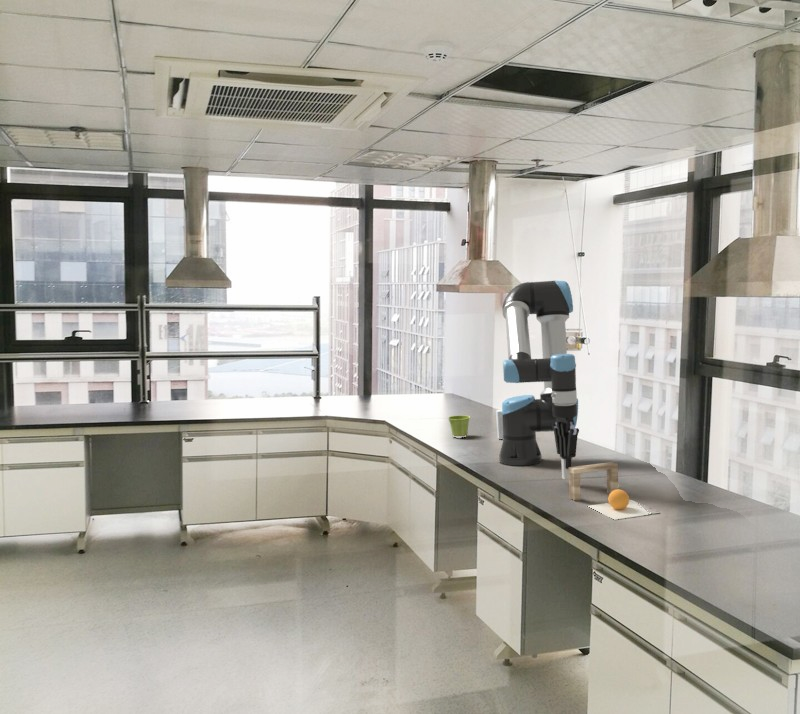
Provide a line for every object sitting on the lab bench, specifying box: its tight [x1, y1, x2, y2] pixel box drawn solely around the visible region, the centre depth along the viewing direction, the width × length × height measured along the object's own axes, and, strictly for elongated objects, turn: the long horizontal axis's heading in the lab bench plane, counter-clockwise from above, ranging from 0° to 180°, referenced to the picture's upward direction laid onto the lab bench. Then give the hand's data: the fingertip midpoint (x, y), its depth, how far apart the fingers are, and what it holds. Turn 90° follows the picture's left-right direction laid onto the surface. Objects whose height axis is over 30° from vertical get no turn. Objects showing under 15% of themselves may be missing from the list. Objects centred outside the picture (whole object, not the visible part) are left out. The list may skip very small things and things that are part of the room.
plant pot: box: [447, 414, 471, 436], centre depth 321 cm, size 9×9×9 cm
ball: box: [607, 488, 630, 510], centre depth 207 cm, size 6×6×6 cm
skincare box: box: [495, 409, 503, 440], centre depth 313 cm, size 6×4×12 cm
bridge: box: [568, 461, 619, 501], centre depth 221 cm, size 3×14×9 cm, turn 106°
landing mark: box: [587, 499, 651, 521], centre depth 207 cm, size 14×14×1 cm
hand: (567, 478), depth 237 cm, fingers closed
